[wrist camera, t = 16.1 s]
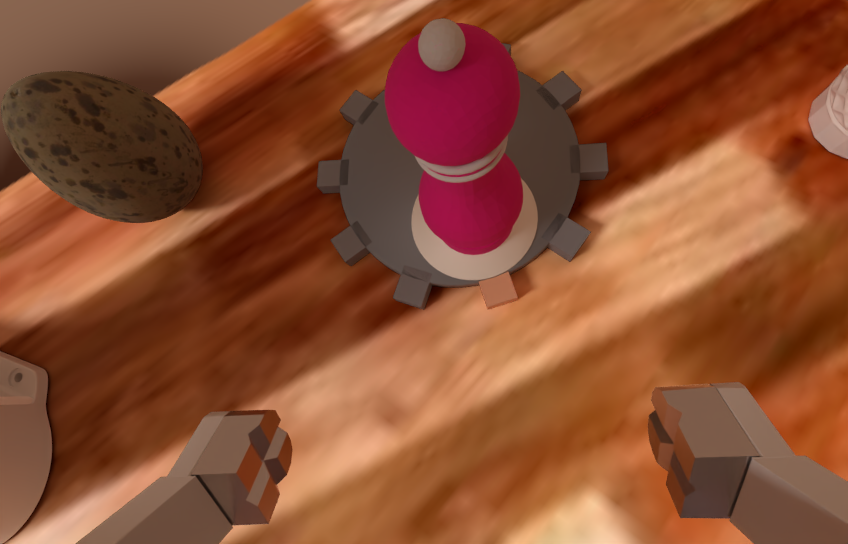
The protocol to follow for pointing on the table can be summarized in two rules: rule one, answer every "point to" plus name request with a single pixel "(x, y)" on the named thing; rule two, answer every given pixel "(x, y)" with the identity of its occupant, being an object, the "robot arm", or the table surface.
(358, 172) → the sprocket plate
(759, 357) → the table surface
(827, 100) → the white cup
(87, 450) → the table surface
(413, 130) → the pepper mill
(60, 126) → the decorative egg
